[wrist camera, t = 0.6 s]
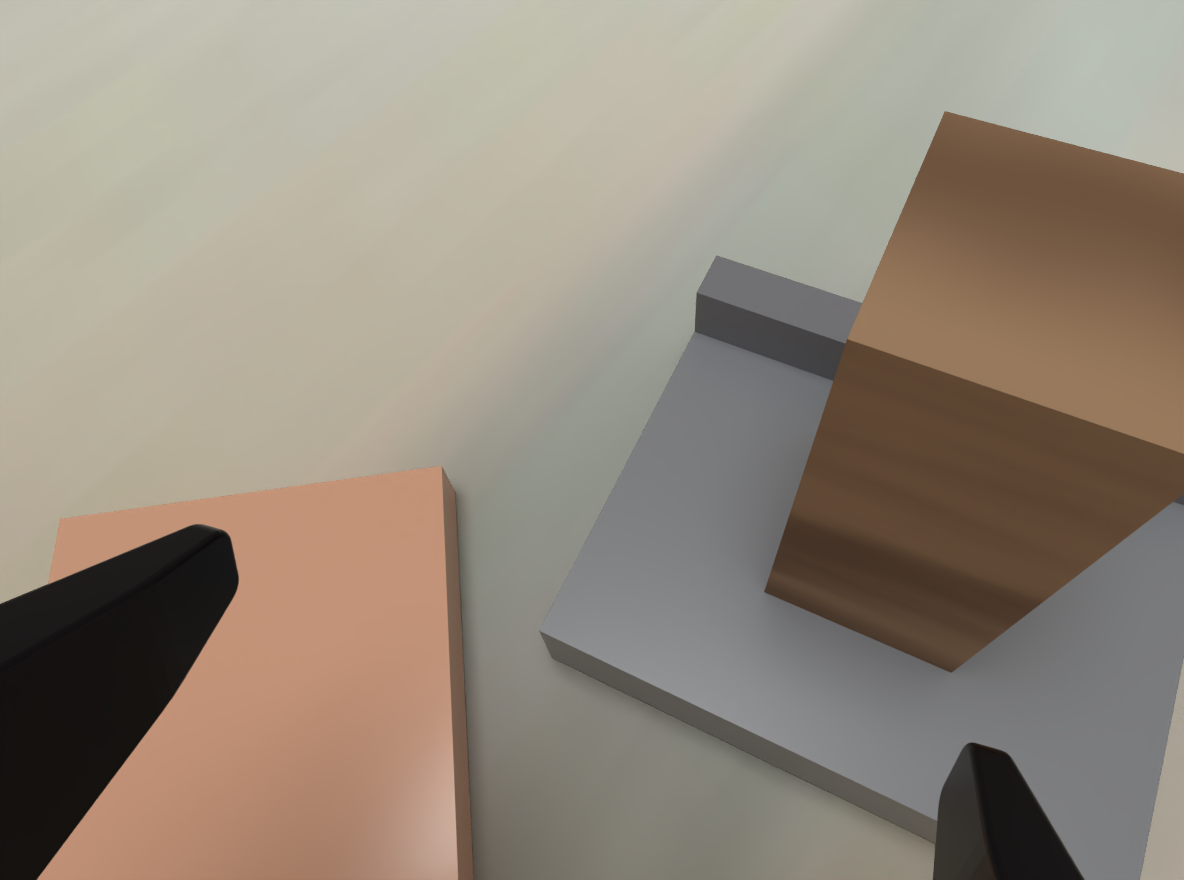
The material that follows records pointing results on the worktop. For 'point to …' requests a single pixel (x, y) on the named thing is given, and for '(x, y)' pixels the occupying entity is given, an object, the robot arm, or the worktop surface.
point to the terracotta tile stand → (299, 696)
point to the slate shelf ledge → (840, 655)
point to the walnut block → (996, 395)
